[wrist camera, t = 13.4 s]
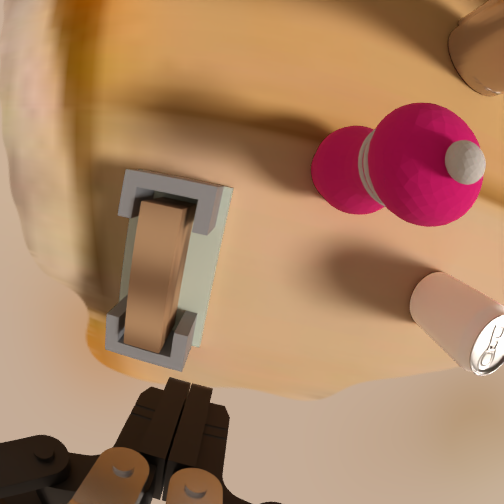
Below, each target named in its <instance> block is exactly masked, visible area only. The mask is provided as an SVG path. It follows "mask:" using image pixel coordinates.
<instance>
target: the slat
mask: <svg viewBox="0 0 504 504" xmlns="http://www.w3.org/2000/svg"><path fill="white" fill-rule="evenodd" d="M196 206H197V204H194V203H189V202H185V201H180V200H175V199H171V198H166V197H160V198H155V199H149V200H144V201H141V206H140V212H139V218H138V224H137V230H136V236H135V243H134V249H133V256H132V264H131V272H130V280H129V288H128V298H127V308H126V318H125V331H124V343H125V344H128V345H131V346H135V347H138V348H141V349H145V350H148V351H152V352H155V353H159V352H160V351H161V349H162V347H163V345H164V343H165V341H166V339H167V338H168V336H169V334H170V332H171V330H172V328H173V326H174V325H175V319H176V313H177V307H178V301H179V295H180V289H181V284H182V278H183V272H184V267H185V262H186V256H187V251H188V246H189V241H190V236H191V231H192V226H193V221H194V216H195V211H196Z"/></svg>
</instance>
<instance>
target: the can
mask: <svg viewBox="0 0 504 504" xmlns="http://www.w3.org/2000/svg"><path fill="white" fill-rule="evenodd" d="M410 313H411V316H412V318H413V320H414V321H415V322H416V323H417V324H418V325H419V326H420V327H421V328H422V329H423V330H424V331H425V332H426V333H427V334H428V335H429V336H430V337H431V338H432V339H433V340H434V341H435V342H436V343H437V344H438V345H439V346H440V347H441V348H442V349H443V350H444V351H445V352H446V353H447V354H448V355H449V356H450V357H451V358H452V359H453V360H454V361H455V362H456V363H457V364H458V365H459V366H460V367H462V368H463V369H465V370H467V371H471V372H473V373H474V374H476V375H479V376H485V375H488V374H490V373H492V372H494V371H495V370H497V369H498V368H499V367H500V366H501V365H502V364H503V363H504V306H503V305H501V304H500V303H498V302H497V301H495V300H493V299H492V298H490V297H488V296H487V295H485V294H483V293H481V292H480V291H478V290H476V289H474V288H472V287H471V286H469V285H467V284H465V283H463V282H462V281H460V280H458V279H456V278H454V277H452V276H450V275H448V274H446V273H443V272H435V273H431V274H429V275H427V276H426V277H424V278H423V279H422V280H421V281H420V282H419V283H418V284H417V286H416V287H415V289H414V291H413V293H412V296H411V300H410Z"/></svg>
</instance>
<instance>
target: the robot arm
mask: <svg viewBox="0 0 504 504" xmlns="http://www.w3.org/2000/svg"><path fill="white" fill-rule="evenodd" d="M448 46H449V53H450V56H451V59H452V62H453V64H454V66H455V68H456V70H457V71H458V73H459V75H460V76H461V77H462V78H463V80H464V81H465V82H466V83H467V84H468V85H469V86H470V87H471V88H472V89H474V90H475V91H476V92H478V93H480V94H482V95H486V96H495V95H498V94H502V93H504V0H489V1H487V2H486V3H484V4H483V5H482V6H480V7H479V8H477V9H476V10H474V11H473V12H471V13H470V14H468V15H467V16H465V17H464V18H462V19H461V20H460V21H459V26H458V27H457V28H455V29H454V30H453V31H452V32H451V34H450V36H449V43H448ZM189 389H190V391H189ZM212 390H213V389H212V388H209V387H205V386H201V385H197V384H193V383H192V385H191V388H190V383H189V382H185V381H182V380H178V379H175V378H171V377H170V378H169V379H168V382H167V384H166V386H165V389H164V390H161V389H158V388H154V387H150V388H148V389H147V390H146V391H144V392H143V393H141V394H140V396H139V398H138V400H137V402H136V405H135V406H134V408H133V410H132V412H131V414H130V416H129V418H128V420H127V421H126V423H125V425H124V427H123V429H122V431H121V433H120V435H119V437H118V439H117V441H116V443H115V445H114V446H113V447H112V448H110V449H107V450H106V451H104V452H103V453H102V454H100V455H93V456H89V455H81V454H75V453H69V452H68V451H67V449H66V447H65V446H64V445H63V444H62V443H61V442H60V441H59V440H57V439H55V438H53V437H50V436H47V435H36V436H31V437H27V438H23V439H18V440H14V441H9V442H4V443H0V504H151V501H152V498H156V499H159V500H160V498H161V494H162V491H163V497H162V500H163V501H166V504H251V503H249V502H247V501H244V500H242V499H240V498H238V497H236V496H235V495H233V494H232V493H231V492H230V491H229V490H228V489H227V488H226V486H225V485H224V482H223V478H222V473H223V465H224V458H225V450H226V442H227V441H226V440H227V434H228V427H229V419H230V417H229V415H228V413H227V410H226V408H225V406H222V405H217V404H213V403H210V398H211V394H212ZM163 487H164V490H163ZM261 504H281V503H277V502H265V503H261Z"/></svg>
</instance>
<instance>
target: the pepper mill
mask: <svg viewBox="0 0 504 504" xmlns="http://www.w3.org/2000/svg"><path fill="white" fill-rule="evenodd" d="M485 166H486V162H485V157H484V154H483V152H482V151H481V149H480V146H479V143H478V141H477V139H476V137H475V135H474V133H473V132H472V131H471V129H470V128H469V127H468V125H467V124H466V123H465V122H464V121H463V120H462V119H461V118H460V117H458V116H457V115H456V114H455V113H453V112H452V111H450V110H448V109H447V108H444V107H442V106H439V105H436V104H431V103H412V104H408V105H405V106H402V107H399V108H397V109H395V110H394V111H392V112H391V113H390V114H388V115H387V116H386V117H385V118H384V119H383V120H382V121H381V122H380V123H379V124H378V125H377V128H376V129H374V130H373V129H371V128H368V127H363V126H349V127H344V128H341V129H339V130H336V131H334V132H333V133H331V134H329V135H328V136H327V137H326V138H325V139H324V140H323V141H322V143H321V144H320V146H319V147H318V149H317V152H316V154H315V156H314V158H313V161H312V165H311V175H312V180H313V183H314V185H315V187H316V189H317V190H318V192H319V193H320V194H321V195H322V196H323V197H324V199H325V200H326V201H327V202H328V203H329V204H330V205H332V206H333V207H335V208H336V209H338V210H340V211H342V212H345V213H349V214H369V213H373V212H376V211H378V210H380V209H381V208H383V207H387V209H388V210H390V211H391V212H392V213H394V214H395V215H397V216H398V217H399V218H401V219H403V220H405V221H406V222H409V223H412V224H415V225H420V226H426V227H430V226H440V225H446V224H448V223H450V222H452V221H455V220H457V219H459V218H460V217H462V216H463V215H464V214H465V213H466V212H467V211H468V210H469V209H470V208H471V207H472V205H473V204H474V202H475V200H476V199H477V197H478V194H479V192H480V189H481V185H482V181H483V174H484V171H485Z"/></svg>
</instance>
